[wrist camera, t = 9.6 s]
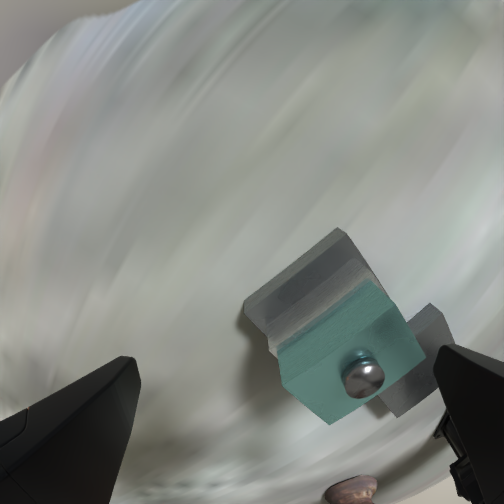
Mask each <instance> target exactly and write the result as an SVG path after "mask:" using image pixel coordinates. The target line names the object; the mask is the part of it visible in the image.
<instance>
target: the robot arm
mask: <svg viewBox="0 0 504 504" xmlns="http://www.w3.org/2000/svg"><path fill="white" fill-rule="evenodd" d="M433 374H434V377H435V379H436V382H437V384H438V387H439V390H440V392H441V395H442V398H443V400H444V403H445V406H446V408H447V413H446V415H445V417H444V418H443V420H442V422H441V424H440V426H439V427H438V429H437V431H436V433H435V434H434V438H435V439H437V438H440V437H443V436H445V438H446V439H447V441H448V443H449V444H450V446H451V447H452V449H453V451H454V452H455V454H456V456H457V457H458V460H457V461H456V462H454V463H452V464H451V465H450V473H451V475H452V477H453V479H454V481H455V486H456V490H457V494H458V496H459V497H464V498H465V499H466V500H467V501H471V503H472V504H504V362H502V361H499V360H496V359H494V358H491V357H488V356H486V355H483V354H480V353H478V352H475V351H472V350H470V349H467V348H464V347H462V346H459V345H456V344H454V343H449V344H444V345H442V346H441V347H440V348H439V351H438V354H437V357H436V360H435V362H434V365H433ZM140 389H141V379H140V375H139V371H138V367H137V363H136V360H135V359H134V358H133V357H128V356H119V357H118V358H116V359H114V360H112V361H111V362H109V363H107V364H105V365H104V366H102V367H100V368H98V369H96V370H95V371H93V372H91V373H89V374H88V375H86V376H84V377H82V378H80V379H79V380H77V381H75V382H73V383H72V384H70V385H68V386H66V387H64V388H62V389H61V390H59V391H57V392H55V393H53V394H52V395H50V396H48V397H46V398H44V399H42V400H41V401H39V402H37V403H35V404H33V405H31V406H29V407H28V409H27V408H26V409H24V410H22V411H20V412H18V413H16V414H14V415H12V416H10V417H8V418H6V419H4V420H2V421H0V504H109V502H110V499H111V495H112V492H113V489H114V485H115V482H116V479H117V475H118V472H119V469H120V466H121V463H122V459H123V456H124V453H125V450H126V447H127V444H128V441H129V438H130V435H131V431H132V427H133V422H134V417H135V412H136V408H137V403H138V398H139V394H140Z"/></svg>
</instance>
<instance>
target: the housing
mask: <svg viewBox="0 0 504 504" xmlns="http://www.w3.org/2000/svg"><path fill="white" fill-rule="evenodd" d="M266 328H267V336H268V345H269V351H270V352H271V353H272V354H273V355H274V356H275V357H276V358H277V359H278V362H279V369H280V375H281V381H282V386H283V387H284V388H285V389H286V390H287V391H289V392H290V393H291V394H292V395H293V396H294V397H296V398H297V399H298V400H299V401H300V402H301V403H303V404H304V405H305V406H306V407H307V408H309V409H310V410H311V411H312V412H313V413H315V414H316V415H317V416H318V417H320V418H321V419H322V420H323V421H325V422H326V423H327V424H328V425H331V424H333V423H334V422H336V421H338V420H339V419H341V418H343V417H344V416H346V415H347V414H349V413H351V412H352V411H354V410H355V409H357V408H359V407H360V406H362V405H363V404H365V403H366V402H368V401H369V400H371V399H372V398H374V397H375V396H376V395H378V394H379V393H381V392H382V391H384V390H385V389H386V388H388V387H389V386H391V385H392V384H393V383H395V382H396V381H397V380H399V379H400V378H401V377H403V376H404V375H405V374H406V373H408V372H409V371H410V370H412V369H413V368H414V367H415V366H417V365H418V364H419V363H420V362H421V361H423V360H424V359H425V358H426V356H425V354H424V352H423V350H422V349H421V347H420V345H419V343H418V341H417V340H416V338H415V336H414V334H413V333H412V331H411V329H410V328H409V326H408V324H407V323H406V321H405V319H404V318H403V316H402V314H401V313H400V311H399V309H398V308H397V306H396V304H395V303H394V302H393V301H392V300H391V299H390V298H389V297H388V296H387V294H386V293H385V291H384V290H383V288H382V287H381V285H380V283H379V282H378V280H377V279H376V277H375V276H374V274H373V273H372V272H371V271H370V270H369V269H368V268H366V267H365V266H364V265H363V264H362V263H361V262H359V261H358V260H357V259H356V258H355V257H353V258H352V259H351V260H349V261H348V262H347V263H346V264H345V265H343V266H342V267H341V268H340V269H338V270H337V271H336V272H335V273H333V274H332V275H331V276H330V277H328V278H327V279H326V280H325V281H323V282H322V283H321V284H320V285H318V286H317V287H316V288H315V289H313V290H312V291H311V292H309V293H308V294H307V295H305V296H304V297H303V298H302V299H300V300H299V301H298V302H296V303H295V304H294V305H292V306H291V307H290V308H288V309H287V310H286V311H284V312H283V313H282V314H280V315H279V316H278V317H276V318H275V319H274V320H272V321H271V322H270V323H268V324H267V325H266Z"/></svg>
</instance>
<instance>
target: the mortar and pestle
mask: <svg viewBox="0 0 504 504" xmlns="http://www.w3.org/2000/svg"><path fill="white" fill-rule="evenodd" d="M376 490H377V481H376V479H375V478H374V477H371V476H366V475H360V476H358V477H355V478H352V479H349V480H347V481H344V482H341V483H339V484H337V485H335V486H332V487H331V488H329V489H328V490H327V491H326V493H325V499H326V500H327V501H328V502H329V503H330V504H374V503H372V501H371V498H372V496H373V495H374V493H375V492H376Z"/></svg>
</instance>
